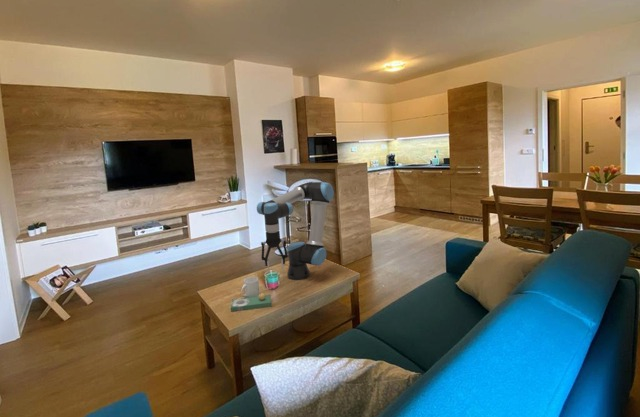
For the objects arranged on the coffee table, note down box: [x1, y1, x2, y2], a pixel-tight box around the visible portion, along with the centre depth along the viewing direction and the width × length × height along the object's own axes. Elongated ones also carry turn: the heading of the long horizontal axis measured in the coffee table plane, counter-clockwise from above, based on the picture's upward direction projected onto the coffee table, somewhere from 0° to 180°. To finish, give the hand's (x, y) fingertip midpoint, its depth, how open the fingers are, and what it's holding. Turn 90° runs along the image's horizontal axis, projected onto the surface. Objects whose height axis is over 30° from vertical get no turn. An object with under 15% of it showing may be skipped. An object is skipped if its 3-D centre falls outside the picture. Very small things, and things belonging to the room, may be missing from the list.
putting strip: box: [230, 294, 272, 313], centre depth 191 cm, size 22×10×2 cm, turn 100°
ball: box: [259, 292, 265, 300], centre depth 191 cm, size 4×4×4 cm
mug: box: [240, 276, 261, 298], centre depth 200 cm, size 9×12×11 cm
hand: (275, 270), depth 190 cm, fingers open, 7 cm apart
